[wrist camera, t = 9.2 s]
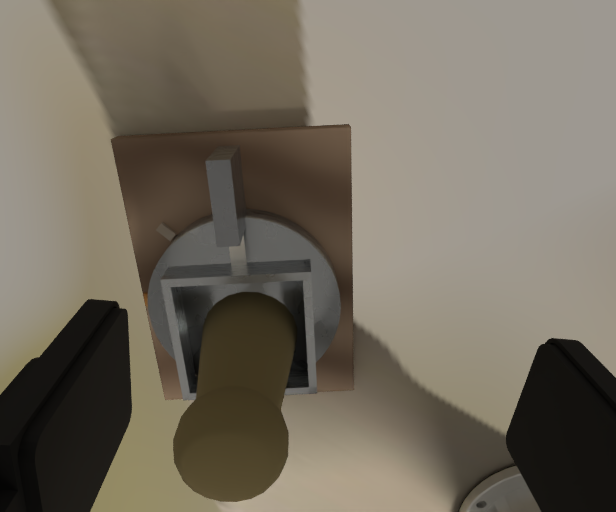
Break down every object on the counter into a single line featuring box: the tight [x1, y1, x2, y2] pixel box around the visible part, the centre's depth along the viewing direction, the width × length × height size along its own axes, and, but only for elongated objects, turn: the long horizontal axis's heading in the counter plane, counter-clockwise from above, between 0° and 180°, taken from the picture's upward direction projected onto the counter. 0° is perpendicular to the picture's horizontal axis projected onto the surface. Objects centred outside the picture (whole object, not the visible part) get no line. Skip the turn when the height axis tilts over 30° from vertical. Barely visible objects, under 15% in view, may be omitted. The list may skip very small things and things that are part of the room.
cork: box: [173, 292, 297, 502], centre depth 25 cm, size 6×6×11 cm
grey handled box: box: [148, 145, 341, 400], centre depth 28 cm, size 16×12×5 cm
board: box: [111, 124, 354, 400], centre depth 31 cm, size 19×14×1 cm
